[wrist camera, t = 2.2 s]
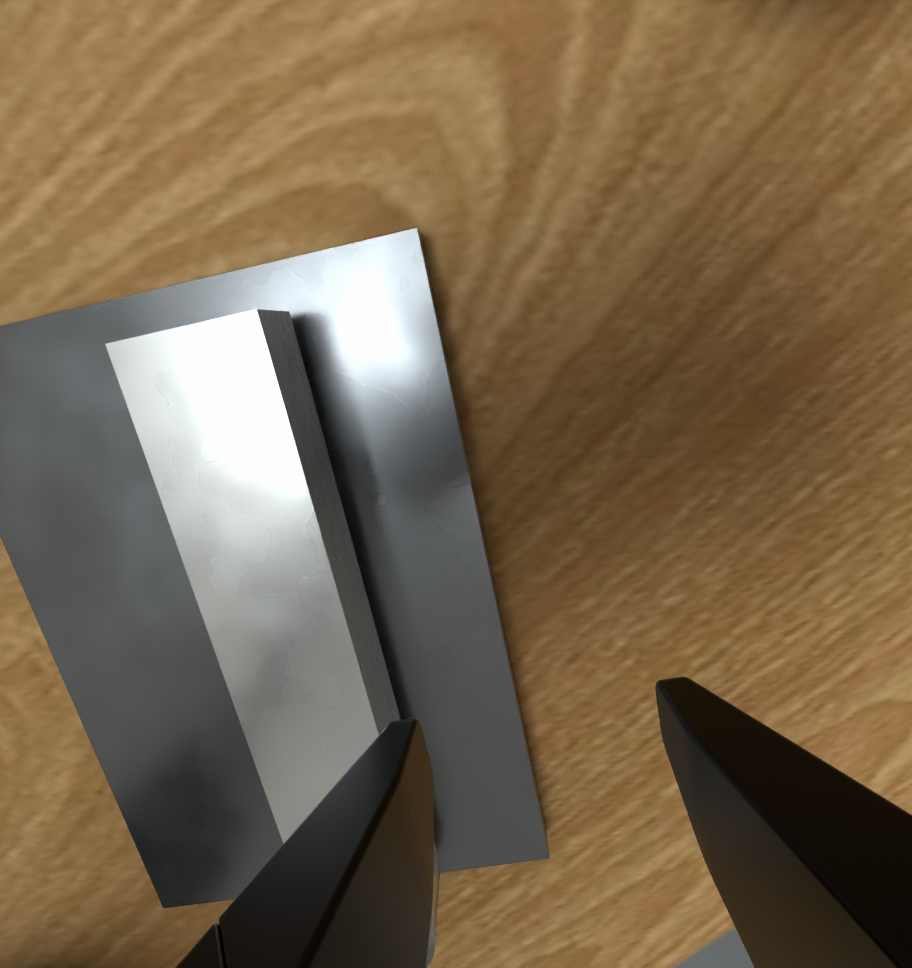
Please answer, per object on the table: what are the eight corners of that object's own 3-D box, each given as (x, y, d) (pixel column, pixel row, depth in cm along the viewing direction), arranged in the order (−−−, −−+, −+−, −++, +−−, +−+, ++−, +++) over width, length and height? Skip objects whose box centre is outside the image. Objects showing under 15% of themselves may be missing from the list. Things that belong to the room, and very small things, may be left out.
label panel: (546, 831, 23) (550, 863, 22) (178, 881, 25) (161, 912, 24) (420, 234, 18) (416, 226, 16) (-50, 344, 19) (-90, 346, 18)
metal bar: (450, 900, 22) (446, 981, 19) (349, 913, 22) (331, 993, 20) (289, 311, 16) (251, 308, 14) (158, 341, 17) (97, 344, 14)
